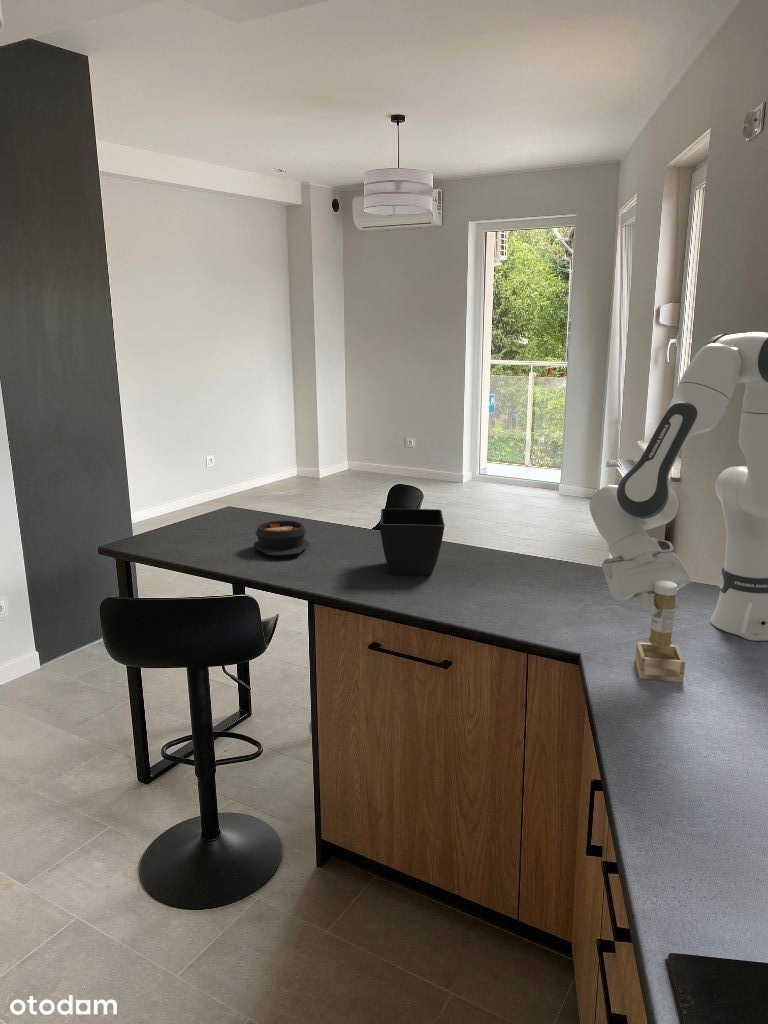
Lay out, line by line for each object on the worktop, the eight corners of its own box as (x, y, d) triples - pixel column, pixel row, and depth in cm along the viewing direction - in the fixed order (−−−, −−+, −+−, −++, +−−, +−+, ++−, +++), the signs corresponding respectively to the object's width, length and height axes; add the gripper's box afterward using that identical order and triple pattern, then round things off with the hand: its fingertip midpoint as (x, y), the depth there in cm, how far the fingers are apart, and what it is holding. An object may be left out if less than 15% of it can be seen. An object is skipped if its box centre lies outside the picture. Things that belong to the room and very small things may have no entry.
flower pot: (443, 579, 214) (445, 524, 210) (379, 578, 215) (379, 523, 211) (440, 560, 233) (441, 508, 229) (381, 559, 233) (381, 508, 229)
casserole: (252, 541, 254) (251, 518, 252) (305, 538, 257) (305, 515, 255) (254, 562, 230) (253, 536, 228) (313, 559, 234) (312, 533, 232)
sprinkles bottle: (645, 639, 156) (650, 580, 153) (665, 638, 157) (671, 579, 153) (654, 648, 152) (660, 587, 149) (675, 647, 152) (681, 586, 149)
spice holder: (676, 664, 159) (678, 645, 158) (683, 682, 151) (685, 662, 150) (634, 660, 161) (636, 641, 159) (639, 678, 152) (641, 658, 151)
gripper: (607, 553, 151) (639, 613, 145) (676, 541, 160) (708, 597, 154) (590, 567, 156) (620, 626, 150) (658, 555, 165) (689, 610, 159)
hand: (665, 611), depth 152 cm, fingers closed on sprinkles bottle, 4 cm apart
